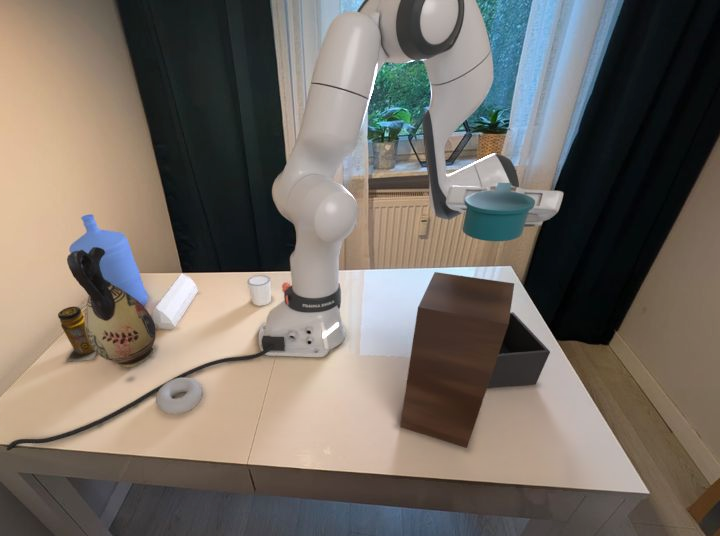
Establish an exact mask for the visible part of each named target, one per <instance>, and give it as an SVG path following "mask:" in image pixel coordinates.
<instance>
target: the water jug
mask: <svg viewBox="0 0 720 536" xmlns="http://www.w3.org/2000/svg"><path fill="white" fill-rule="evenodd" d="M80 219H81V220H82V222H83V226H84V228H85V230H86V232H85V233H84V234H83V235H81V236H80V237H79V238H78V239H75V241H73V242H72V243H71V244H70V246H69V249H68V251H69V253H70V254H71V253H72V252H74V251H80V250H83V251H85V252H86V253H89V251H90V250H91V249H92V248H93V247H98V248H102V249H104V251H105V254H104V255H103V257H102V258H101V260H100V264H99V265H100V270H101V273H102V276H103V278H104V279H105V280H107V281H108V282H110V283H111V284H112V285H114V286H116V287H118V288H120V289H122V290H123V291H125V292H126V293H128V294H129V295H131V296H132V297H134V298H135V299H136V300H138V301H139V302H140V303H141V304H142V305H143V306H144V307H145V305H146V304H147V302H148V301H149V295H148V292H147V290H146V288H145V285H144V282H143V279H142V277H141V273H140V270H139V268H138V266H137V263H136V261H135V258H134V255H133V253H132V249H131V245H130V242H129V240H128V238H127V236H126V234H124V233H122V232H119V231H114V230H107V229H100V227H98V224H97V221H96V220H95V215H94V214H91V213H90V214H85V215H83V216H80ZM81 265H82V264H81ZM82 268H83V267H82Z"/></svg>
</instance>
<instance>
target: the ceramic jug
mask: <svg viewBox="0 0 720 536" xmlns="http://www.w3.org/2000/svg"><path fill="white" fill-rule="evenodd" d="M104 254H105V251H104V249H102V248H98V247H93V248H92V249H91V250H90V251H89V253H86V252H85V251H83V250H80V251H74V252H72V253H70V254H68V255H67V258H66V261H67V265H68V269H69V270H70V272H71V275H72V276H73V278H74V279H75V281H76V282H78V284H79V286H81V288H82V289H83V290H84V291H85V292H86V293H87V295H88V297H87V300H86V306H85V312H84V316H85V319H84V324H85V331H86V335H87V338H88V341H89V343H90V345H91V347H92V348H93V350H94V351H95V352H96V353H97V354H96V355H98V356H100V357H101V358H103V359H105V360H106V361H111V362H113V363H116V364H118V365H119V366H121V367H123V368H125V369H126V368H127V369H128V368H129V369H131V368H132V367H135V366H138V365H140V364H142V363H144V362H146V361H147V360H148V359H150V358H151V356H152V355H153V352H154V348H153V346H154V344H155V340H156V336H157V332H156V331H157V329H156V328H155V324H154V321H153V319H152V317H151V313H150V312H149V311H148V309H146V307H145V305H144V306H143V305H142V304H141V303H140V302H139V301H138V300H136V299H135V298H134V297H132V296H131V295H129V294H128V293H126V292H125V291H123V290H122V289H120V288H118V287H116V286H114V285H112V284H111V283H110V282H108V281H107V280H105V279H104V278H103V276H102V273H101V270H100V265H99V264H100V260H101V258H102V257H103V255H104ZM81 264H82V265H81ZM82 267H83V268H82Z"/></svg>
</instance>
